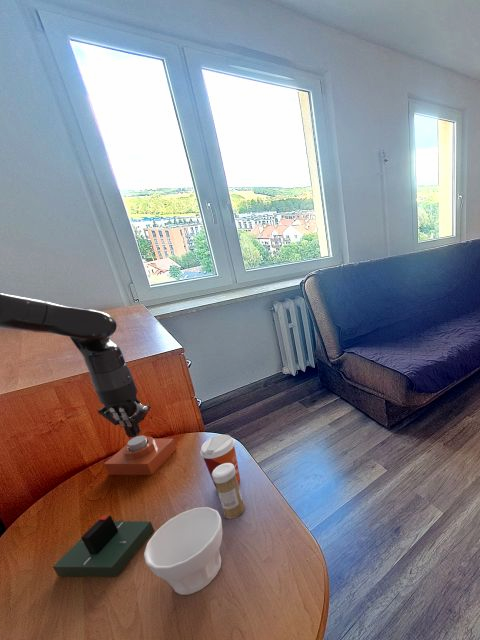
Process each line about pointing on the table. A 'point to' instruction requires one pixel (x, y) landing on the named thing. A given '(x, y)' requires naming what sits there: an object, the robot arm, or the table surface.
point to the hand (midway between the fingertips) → (134, 435)
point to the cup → (187, 550)
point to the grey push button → (137, 443)
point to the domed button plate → (141, 458)
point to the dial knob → (99, 534)
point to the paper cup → (219, 453)
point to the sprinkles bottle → (228, 490)
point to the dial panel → (105, 552)
